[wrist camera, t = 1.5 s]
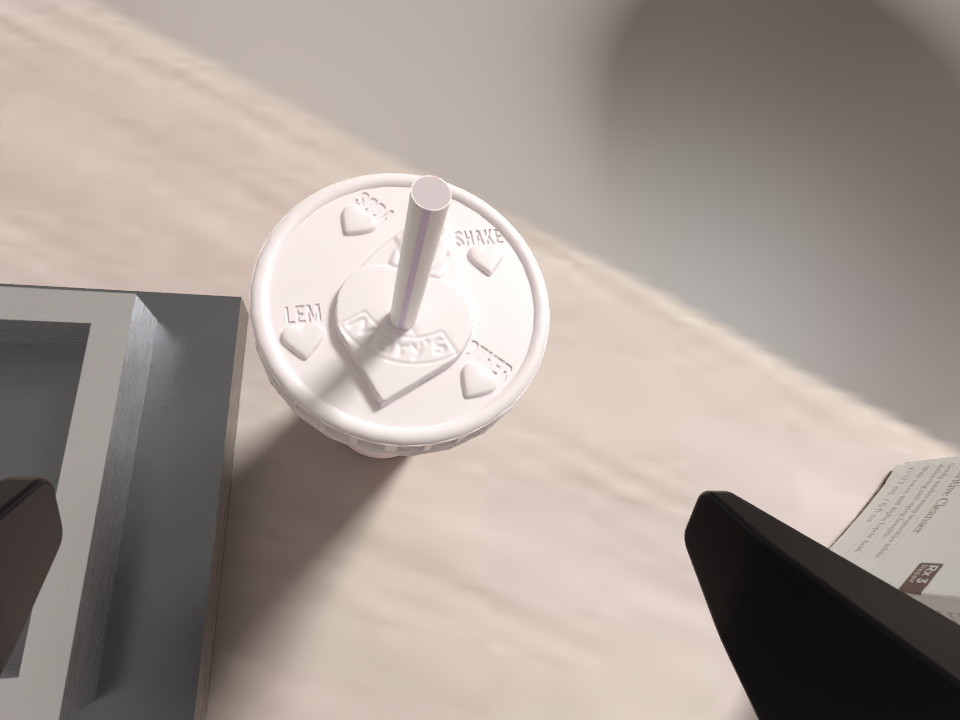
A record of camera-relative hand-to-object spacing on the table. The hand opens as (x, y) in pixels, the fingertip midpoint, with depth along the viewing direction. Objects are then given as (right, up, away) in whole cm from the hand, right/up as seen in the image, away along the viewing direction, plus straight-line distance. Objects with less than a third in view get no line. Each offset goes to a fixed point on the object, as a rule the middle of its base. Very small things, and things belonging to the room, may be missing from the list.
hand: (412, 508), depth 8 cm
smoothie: (-3, 0, +13) cm, 13 cm away
